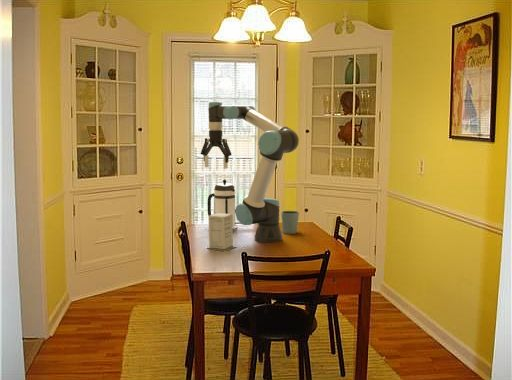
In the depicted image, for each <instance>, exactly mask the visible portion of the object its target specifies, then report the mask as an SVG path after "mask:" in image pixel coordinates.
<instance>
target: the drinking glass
mask: <svg viewBox="0 0 512 380" xmlns="http://www.w3.org/2000/svg"><path fill="white" fill-rule="evenodd" d="M280 213H281V214H280V215H281V225H282V226H281V227H282V229H281V233H283V234H285V235H286V234H287V235H288V234H289V235H292V234H293V235H294V234H297V233H298V225H299V216H300V215H299V214H300V212H299V211H296V210H283V211H281V212H280Z"/></svg>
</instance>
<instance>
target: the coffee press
mask: <svg viewBox="0 0 512 380" xmlns="http://www.w3.org/2000/svg"><path fill="white" fill-rule="evenodd" d="M213 191H214V193H210V194H208V197H207V215H208V216H207V217H209V216H210V215H212V207H211V206H212V198H213V197H214V198H213V200H214V203H213V206H214V207H213V208H214V210H213V211H214V212H213V213H214V214H216V213H223V214H232V224H233V228H234V229H235V230H237V229H238V226H237V224H236V213H235V210H236V187H235V186H234V184H231V183H227V180H226V179H223V180H222V183H218V184H215V186H214V187H213ZM235 226H236V227H235Z"/></svg>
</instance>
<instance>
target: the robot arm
mask: <svg viewBox="0 0 512 380" xmlns="http://www.w3.org/2000/svg"><path fill="white" fill-rule="evenodd" d="M207 110H208V129H209V130H208V137H207V138H206V137H205V138H204V142H203V146H202V148H201V150H200V155H202V156H203V162H204V168H210V166H209V165H210V164H209V158H210V156H209V153H210V152H211V150H212V149H213V147H214V148H215V147H218V149H219V150H220V151H221V153H222V154H223V169H224V170H227V169H228V168H229V167H228V164H229V159H230V158H229V157H230V156H232V152H231V149H230V147H229V144H228V140H227V138H223V130H222V129H223V120H244V121H245V122H247V123H248V124H251V125H252V126H253V127H256V128H257V129H259V130H260V131H261V132H263V133H262V134H260V136H259V139H258V142H257V143H258V144H257V145H258V150H259V154H260V156H261V157H260V159H259V163H258V165H257V168H256V171H255V173H254V177H253V180H252V183H251V184H250V185H251V186H250V187H249V192H248V194H247V195H245V196H244V197H243V200H242V202H241V203H238V204H237V205H236V206H235V218H236V219H237V221H238V223H240V224H241V225H242V226H250V225H255V224H257V228H256V230H255V234H254V241H255V242H258V243H259V242H260V243H278V242H281V241H283V234H282V229H281V227H280V201H279V199H276V198H271V197H270V198H269V197H266V194H267V192H268V189H269V186H270V184H271V181H272V177H273V175H274V173H275V169H276V166H277V164H278V162H280V161H282V158H283V156H284V155H285V154H289V153H292V152H294V151H295V150H296V149H297V148H298V146H299V141H300V137H299V136H298V134H297V132H296V131H295V130H293V129H291V128H290V127H288V126H286V125H285V126H283V125H280V124H279V123H277V122H276V121H274V120H272V119H271V118H268V117H267V116H266V115H263V114H262V113H260V112H259V111H256V108H255V107H254V106H253V105H249V104H242V105H241V104H238V105H237V104H236V105H234V104H226V105H225V104H224V105H223V103H222V101H209V103H208V108H207Z"/></svg>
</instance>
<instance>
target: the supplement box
mask: <svg viewBox="0 0 512 380" xmlns="http://www.w3.org/2000/svg"><path fill="white" fill-rule="evenodd" d="M233 230H234V227H233V224H232V214H223V213H216V214H211V215H210V216H208V247H209V248H218V249H226V248H228V247H231V246H234V235H233V234H234V232H233Z"/></svg>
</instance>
